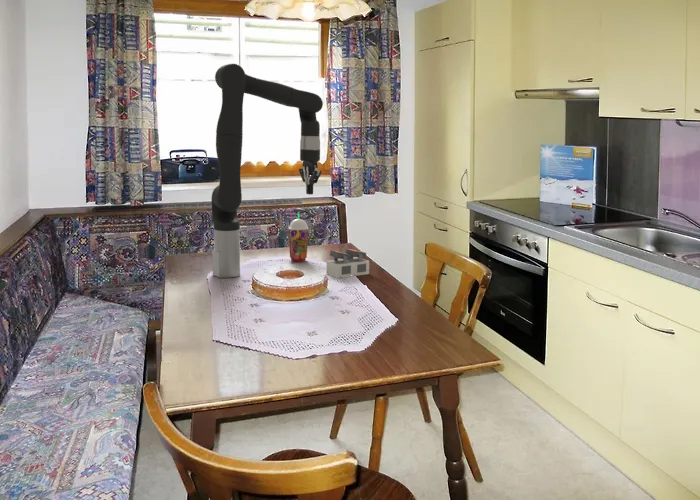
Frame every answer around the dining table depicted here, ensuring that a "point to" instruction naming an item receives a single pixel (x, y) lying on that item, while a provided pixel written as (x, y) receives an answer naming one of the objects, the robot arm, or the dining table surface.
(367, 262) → the rocker switch box
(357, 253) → the rocker
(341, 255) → the rocker
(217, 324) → the dining table surface
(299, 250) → the smoothie
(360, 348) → the dining table surface
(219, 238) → the robot arm
